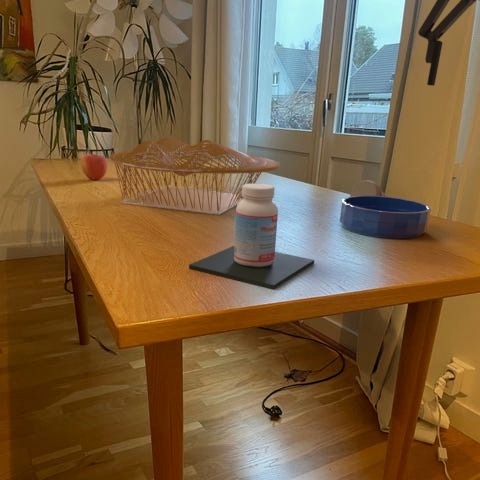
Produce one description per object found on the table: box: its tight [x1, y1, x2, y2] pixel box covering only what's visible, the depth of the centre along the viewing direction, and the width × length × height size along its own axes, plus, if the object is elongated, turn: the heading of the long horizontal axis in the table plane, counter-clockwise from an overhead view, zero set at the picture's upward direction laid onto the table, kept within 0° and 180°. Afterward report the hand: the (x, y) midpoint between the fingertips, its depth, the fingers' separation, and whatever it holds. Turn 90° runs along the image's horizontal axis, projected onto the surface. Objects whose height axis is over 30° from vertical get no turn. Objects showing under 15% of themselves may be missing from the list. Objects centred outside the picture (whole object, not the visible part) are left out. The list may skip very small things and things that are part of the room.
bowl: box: [339, 196, 432, 240], centre depth 97 cm, size 17×17×5 cm
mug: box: [349, 179, 387, 197], centre depth 113 cm, size 8×10×10 cm
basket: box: [109, 137, 281, 216], centre depth 113 cm, size 36×40×14 cm
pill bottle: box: [234, 183, 279, 267], centre depth 70 cm, size 6×6×11 cm
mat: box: [188, 245, 315, 290], centre depth 72 cm, size 14×14×1 cm
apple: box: [80, 149, 108, 181], centre depth 136 cm, size 7×7×8 cm
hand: (473, 86), depth 79 cm, fingers open, 13 cm apart
